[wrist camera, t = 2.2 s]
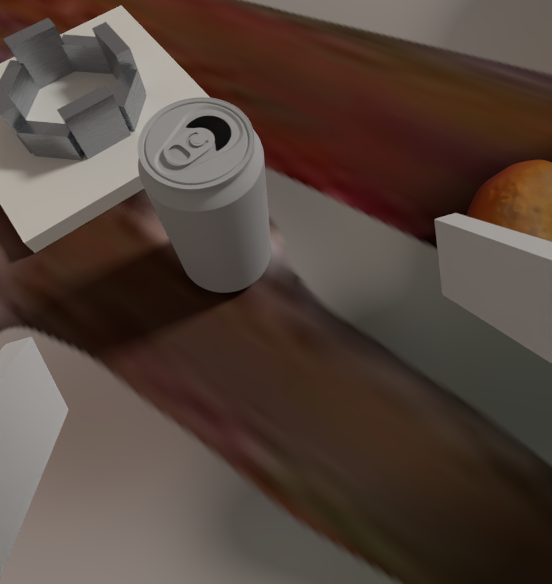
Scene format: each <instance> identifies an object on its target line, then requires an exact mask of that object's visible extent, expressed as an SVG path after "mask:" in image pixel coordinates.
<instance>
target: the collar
mask: <svg viewBox="0 0 552 584" xmlns="http://www.w3.org/2000/svg"><path fill="white" fill-rule="evenodd" d="M92 30H93V32H94V34H95V37H93V36H79V35H65V34H63V36H62V38H61V36H60V34H59V32H58V30H57V28H56V26H55V25H54V24H53V23H52V21H51V20H50V19H49V18H47V19H45V20H43V21H40V22H38V23H36V24H34V25H32V26H30V27H28V28H26V29H23V30H21V31H19V32H17V33H15V34H13V35H11V36H9V37H6V38H4V39H3V40H4V41H5V43H6V44H7V46H8V47H9V49H10V50H11V52H12V54H13V55H14V57H15V58H16V60H17V61H16V60H10V61H9V63H8V65H7V67H6V69H5V71H4V73H3V75H2V77H1V79H0V115H1V116H2V117H3V119H4V120H5V121H6V123H7V124H8V125H9V127H10V128H11V129H12V130H13V132H14V133H15V134H16V136H17V137H18V138H19V139H20V141H21V142H22V143H23V145H24V146H25V147H26V148H27V150H28V151H29V152H30V154H31V153H33V154H34V155H35V156H38V157H49V158H60V159H70V160H81V161H82V160H83V157H84V155H86V157H87V158H88V159H90V158H92V157H93V156H95V155H97V154H99V153H100V152H102V151H104V150H106V149H108V148H109V147H111V146H113V145H115V144H117V143H118V142H120V141H122V140H124V139H125V138H127V137H129V136H131V134H130V131H135V129H136V126H137V123H138V120H139V117H140V114H141V111H142V108H143V105H144V102H145V99H146V96H147V95H146V91H145V88H144V85H143V82H142V80H141V77H140V74H139V71H138V68H137V66H136V63H135V60H134V57H133V55H132V52H131V49H130V48H129V46H128V45H127V44H126V43H125V42H124V41H123V40H122V39H121V38H120V37H119V36H118V34H117V33H116V32H115V31H114V30H113V29H112V28H111V27H110V26H109V25H108V24H107V23H106V22H104V23H102V24H100V25H98V26H96V27H94V28H92ZM75 71H77V72H90V73H103V74H113V76H114V77H115V78H116V79H117V80H118V82H117V84H116V87H115V90H114V92H113V94H112V93H111V91H110V90H109V89H108V88H107V87H106V86H105V85H103V86H101V87H99V88H97V89H96V90H94V91H92V92H90V93H88V94H86V95H84V96H82V97H80V98H78V99H76V100H74V101H73V102H71V103H69V104H67V105H65V106H63V107H61V108H59V109H57V111H58V113H59V114H60V116H61V118H62V119H63V121H64V123H65V124H61V123H50V122H39V121H27V120H26V118H27V115H28V113H29V111H30V109H31V107H32V105H33V103H34V100H35V98H36V96H37V94H38V92H39V90H40V89H41V88H43V87H45V86H47V85H49V84H51V83H53V82H55V81H57V80H59V79H61V78H63V77H65V76H67V75H69V74H71V73H73V72H75Z"/></svg>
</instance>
